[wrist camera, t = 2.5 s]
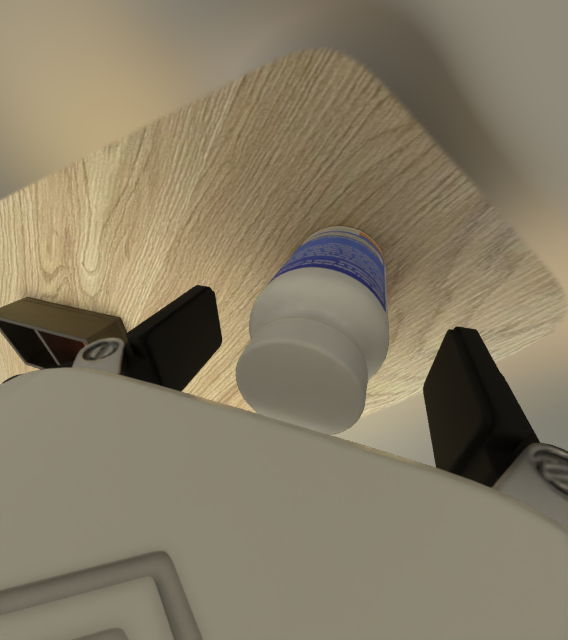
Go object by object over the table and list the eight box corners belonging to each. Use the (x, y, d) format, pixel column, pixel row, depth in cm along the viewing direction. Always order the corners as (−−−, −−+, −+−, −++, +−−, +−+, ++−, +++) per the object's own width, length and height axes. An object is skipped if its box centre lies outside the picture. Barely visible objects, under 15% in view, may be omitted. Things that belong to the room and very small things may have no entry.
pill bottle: (284, 237, 15) (181, 325, 7) (380, 212, 13) (375, 301, 5) (307, 314, 18) (248, 441, 10) (392, 305, 15) (400, 461, 8)
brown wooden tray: (26, 297, 28) (-15, 313, 25) (120, 317, 25) (86, 339, 22) (57, 345, 32) (25, 364, 29) (142, 369, 28) (116, 393, 26)
